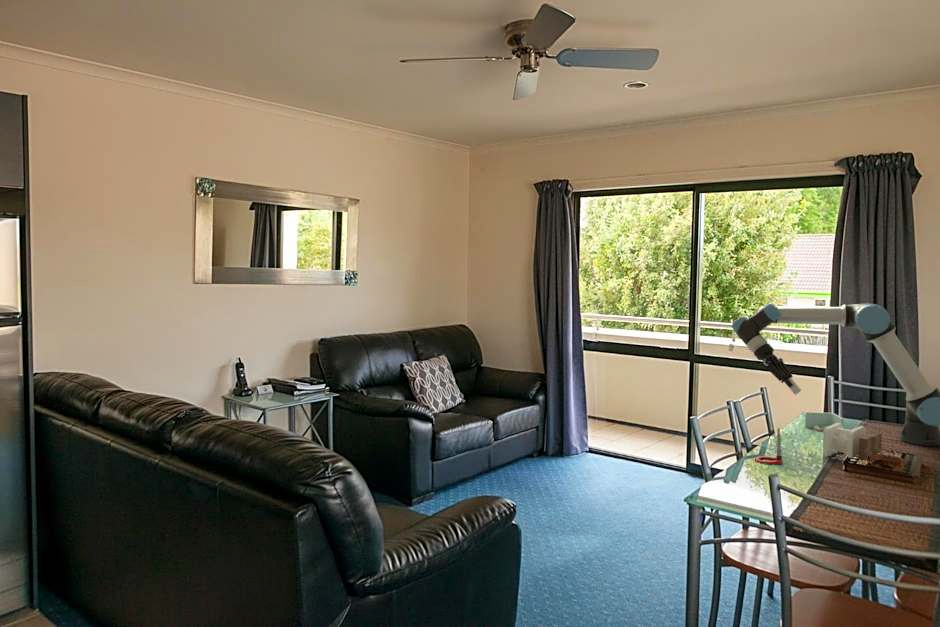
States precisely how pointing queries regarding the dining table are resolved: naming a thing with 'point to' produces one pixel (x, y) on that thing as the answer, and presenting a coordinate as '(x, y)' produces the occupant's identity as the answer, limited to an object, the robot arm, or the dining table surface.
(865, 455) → the keeper stop
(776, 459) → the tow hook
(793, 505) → the dining table surface
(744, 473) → the dining table surface
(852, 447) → the cable organizer
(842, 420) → the l-shaped corner panel
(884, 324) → the robot arm
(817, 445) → the dining table surface
